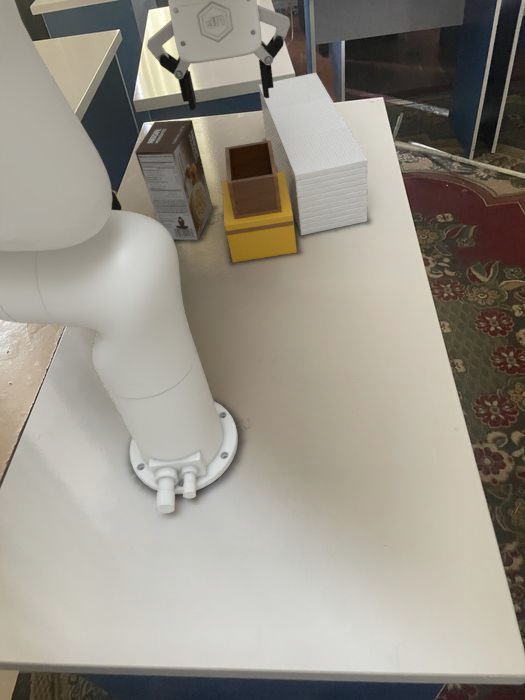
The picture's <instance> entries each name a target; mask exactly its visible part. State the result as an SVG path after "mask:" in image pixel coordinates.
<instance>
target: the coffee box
mask: <svg viewBox="0 0 525 700" xmlns="http://www.w3.org/2000/svg"><path fill="white" fill-rule="evenodd" d="M194 127H195V126H194V124H193V120H192V119H187V120H186V119H185V120H167V121H154V122H153V124H152V125H151V126H150V128H149V130H148V131H147V133H146V135H144V138H143V139H142V141H141V143H139V145H138V147H137V148H136V150H135V156H136V159H137V162H138V165H139V168H140V171H141V174H142V177H143V180H144V184H145V187H146V189H147V192H148V195H149V198H150V201H151V204H152V207H153V210H154V214H155V216H156V220H157V221H158V222H159V223H160V224H162V225H163V226H164V227H165V228H166V229H167V230H168V232H169V233H170V235H171V236H172V238H173V241H175V240H176V241H198V240H200V237H201V236H202V233H203V231H204V229H205V226H206V225H207V222H208V220H209V217H210V215H211V212H212V211H213V208H214V207H213V204H212V199H211V195H210V194H211V193H210V191H209V187H208V181H207V177H206V173H205V168H204V165H203V161H202V157H201V152H200V148H199V144H198V140H197V136H196V132H195V128H194Z"/></svg>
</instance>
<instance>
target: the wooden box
mask: <svg viewBox="0 0 525 700" xmlns="http://www.w3.org/2000/svg"><path fill="white" fill-rule="evenodd" d="M224 153H225V154H224V155H225V171H226V180H227V185H228V189H229V194H230V199H231V204H232V209H233V214H234V219H240V218H246V217H253V216H259V215H265V214H272V213H278V212H282V209H281V200H280V192H279V184H278V177H277V172H278V171H277V168H276V165H275V160H274V154H273V148H272V143H271V140H269V141H267V140H263V141H257V142H251V143H245V144H238V145H233V146H226V147H224Z"/></svg>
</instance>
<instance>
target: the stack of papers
mask: <svg viewBox="0 0 525 700" xmlns="http://www.w3.org/2000/svg"><path fill="white" fill-rule="evenodd" d="M273 87H274V88H268V90H269V98H265V97H264V95H263V89H262V83H260V84H258V89H259V95H260V96H259V98H260V104H261V111H262V118H263V125H264V134H265V141H269V140H271V143H272V148H273V154H274V160H275V165H276V171H277V172H282V171H284V172H285V177H286V182H287V187H288V193H289V198H290V203H291V208H292V213H293V218H294V221H295V223H296V225H297V227H298V230H299V233H300V236H304V235H311V234H315V233H320V232H324V231H328V230H333V229H338V228H342V227H346V226H347V227H348V226H352V225H357V224H361V223H365V222H368V159H367V157H366V155H365V153H364V152H363V150H362V148H361V146H360V145H359V143H358V142H357V140H356V138H355V137H354V135H353V133H352V132H351V130H350V128H349V126H348V125H347V123H346V121H345V120H344V117H343V116H342V115H341V113H340V111H339V109H338V108H337V106H336V104H335V103H334V101H333V99H332V97H331V96H330V94H329V92H328V90H327V89H326V87H325V86H324V84H323V82H322V80H321V79H320V77H319V75H318V74H317V72H313V73H308V74H304V75H298V76H294V77H289V78H285V79H279V80H275V81H274V80H273Z"/></svg>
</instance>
